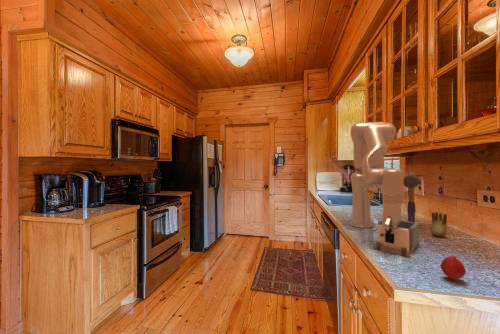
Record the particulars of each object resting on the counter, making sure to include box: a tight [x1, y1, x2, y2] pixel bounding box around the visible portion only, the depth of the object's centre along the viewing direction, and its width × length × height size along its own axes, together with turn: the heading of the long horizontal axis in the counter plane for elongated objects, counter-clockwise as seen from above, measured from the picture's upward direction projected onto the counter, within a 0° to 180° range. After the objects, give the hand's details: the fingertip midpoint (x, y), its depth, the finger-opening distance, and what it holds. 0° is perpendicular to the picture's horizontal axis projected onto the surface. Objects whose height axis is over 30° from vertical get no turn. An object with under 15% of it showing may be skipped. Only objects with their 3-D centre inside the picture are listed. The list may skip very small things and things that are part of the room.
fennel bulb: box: [430, 211, 448, 238], centre depth 115 cm, size 6×5×12 cm
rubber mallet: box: [403, 174, 421, 223], centre depth 131 cm, size 12×8×30 cm, turn 139°
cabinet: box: [373, 220, 420, 258], centre depth 101 cm, size 18×13×10 cm
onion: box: [440, 254, 467, 281], centre depth 73 cm, size 6×6×8 cm
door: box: [376, 224, 409, 251], centre depth 97 cm, size 4×11×10 cm, turn 44°
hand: (392, 239), depth 97 cm, fingers open, 8 cm apart
